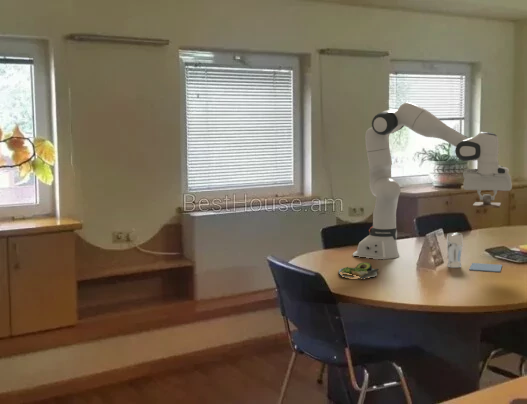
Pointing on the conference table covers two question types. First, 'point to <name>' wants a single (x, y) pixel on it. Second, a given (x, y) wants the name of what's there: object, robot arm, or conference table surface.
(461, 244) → the beer glass
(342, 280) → the conference table surface
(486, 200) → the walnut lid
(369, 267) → the salad plate
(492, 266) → the slate mat
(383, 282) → the conference table surface
